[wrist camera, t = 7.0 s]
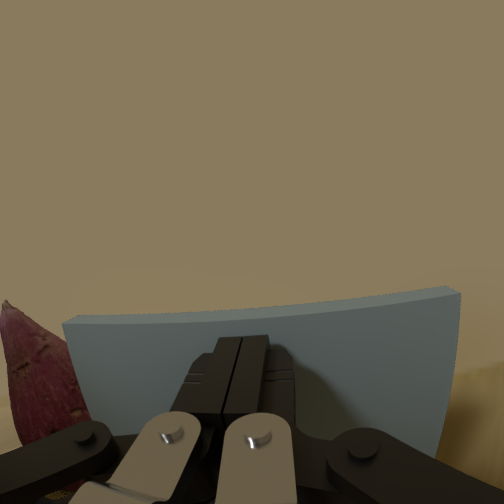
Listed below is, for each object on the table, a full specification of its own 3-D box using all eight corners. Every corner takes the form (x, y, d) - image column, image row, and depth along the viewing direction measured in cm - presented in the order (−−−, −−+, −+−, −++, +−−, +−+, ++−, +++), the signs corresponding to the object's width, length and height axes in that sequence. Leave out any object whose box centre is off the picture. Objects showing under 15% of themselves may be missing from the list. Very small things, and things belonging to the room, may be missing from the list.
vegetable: (43, 476, 18) (-58, 342, 15) (104, 413, 27) (23, 288, 24) (93, 522, 13) (-61, 343, 10) (169, 431, 22) (61, 264, 18)
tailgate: (142, 521, 12) (61, 323, 11) (156, 494, 14) (94, 307, 13) (414, 517, 10) (460, 292, 9) (403, 487, 12) (431, 278, 11)
